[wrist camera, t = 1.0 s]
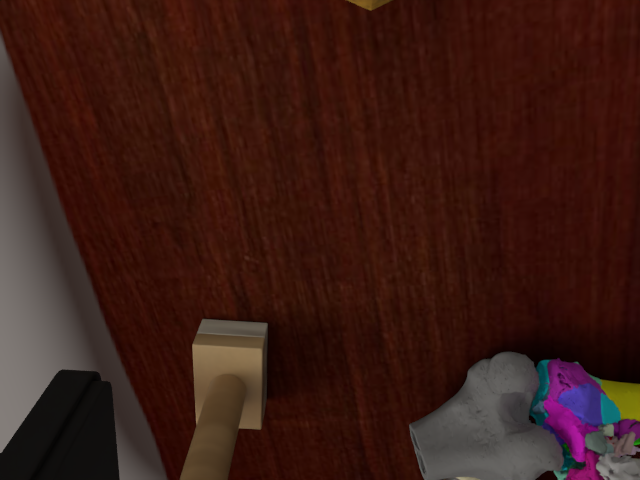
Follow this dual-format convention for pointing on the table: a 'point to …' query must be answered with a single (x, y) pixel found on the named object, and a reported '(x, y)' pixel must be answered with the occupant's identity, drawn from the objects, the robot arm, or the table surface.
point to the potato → (370, 3)
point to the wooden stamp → (225, 392)
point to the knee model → (529, 439)
